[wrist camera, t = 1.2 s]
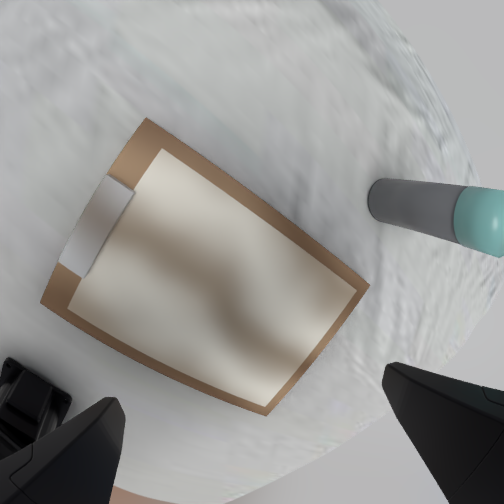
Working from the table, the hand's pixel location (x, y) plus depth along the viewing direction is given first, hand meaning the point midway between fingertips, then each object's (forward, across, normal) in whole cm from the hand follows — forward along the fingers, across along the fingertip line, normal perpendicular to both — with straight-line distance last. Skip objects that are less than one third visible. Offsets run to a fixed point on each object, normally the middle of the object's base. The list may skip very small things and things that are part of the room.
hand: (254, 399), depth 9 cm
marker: (+14, +12, +3) cm, 19 cm away
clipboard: (+12, -2, -2) cm, 12 cm away
